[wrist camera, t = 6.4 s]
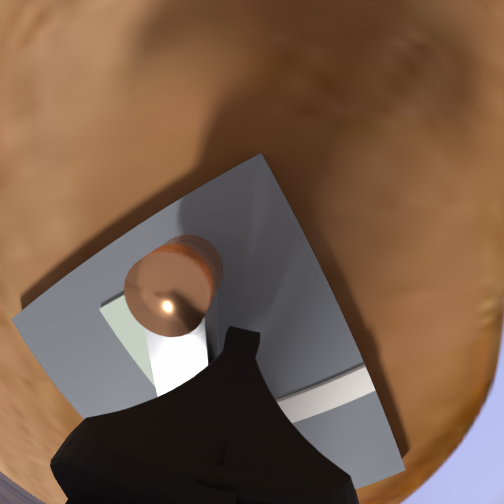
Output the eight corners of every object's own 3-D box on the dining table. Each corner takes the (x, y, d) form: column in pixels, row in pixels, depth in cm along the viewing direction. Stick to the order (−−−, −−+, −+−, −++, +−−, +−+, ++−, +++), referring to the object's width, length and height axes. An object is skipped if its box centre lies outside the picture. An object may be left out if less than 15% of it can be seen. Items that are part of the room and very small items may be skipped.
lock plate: (401, 459, 14) (409, 480, 12) (201, 507, 17) (196, 525, 15) (262, 154, 11) (259, 150, 9) (21, 312, 14) (0, 326, 12)
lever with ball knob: (259, 479, 12) (256, 515, 10) (166, 467, 13) (155, 499, 10) (269, 236, 9) (267, 258, 7) (117, 233, 9) (76, 252, 7)
